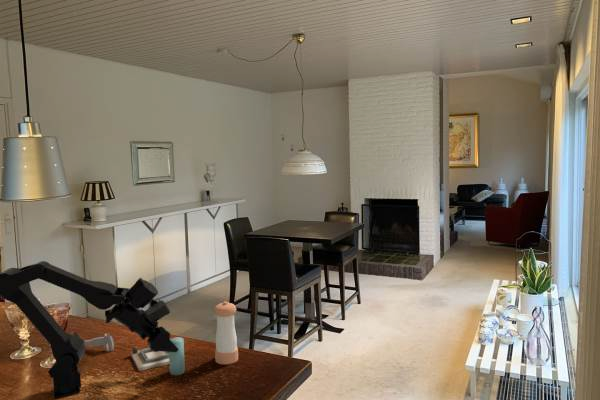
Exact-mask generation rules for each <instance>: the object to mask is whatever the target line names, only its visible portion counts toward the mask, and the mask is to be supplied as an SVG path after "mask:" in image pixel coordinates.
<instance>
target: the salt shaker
mask: <svg viewBox="0 0 600 400" xmlns="http://www.w3.org/2000/svg"><path fill="white" fill-rule="evenodd" d="M213 312H214V314H215V316H216V333H215V334H216V335H215V346H216V348H215V350H214V354H215V355H214V356H215V358H214V359H215V360H214V361H215V363H217V364H219V365H231V364H234V363H236V362H238V360H239V349H238V348H239V347H238V344H237V343H238V342H237V339H238V338H237V334H236V333H237V332H236V328H235V314H236V313H237V306H235V304H234V303H231V302H228V301H227V300H226V301H225V300H223V302H221V303H218V304H217V305H216V306H215V307H214V310H213Z"/></svg>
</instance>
